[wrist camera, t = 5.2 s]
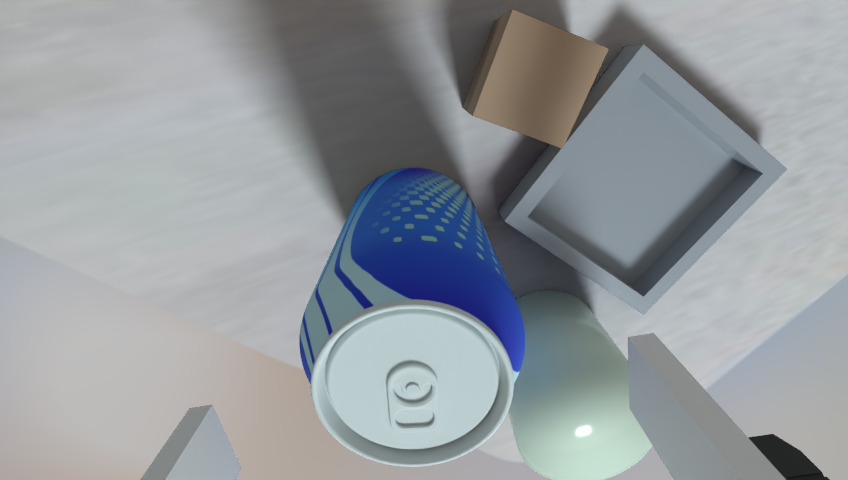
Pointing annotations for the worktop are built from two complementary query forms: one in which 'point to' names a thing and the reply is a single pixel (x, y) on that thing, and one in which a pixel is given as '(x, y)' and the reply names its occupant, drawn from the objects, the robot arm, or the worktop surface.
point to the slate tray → (640, 181)
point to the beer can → (412, 326)
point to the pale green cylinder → (572, 394)
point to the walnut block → (533, 78)
